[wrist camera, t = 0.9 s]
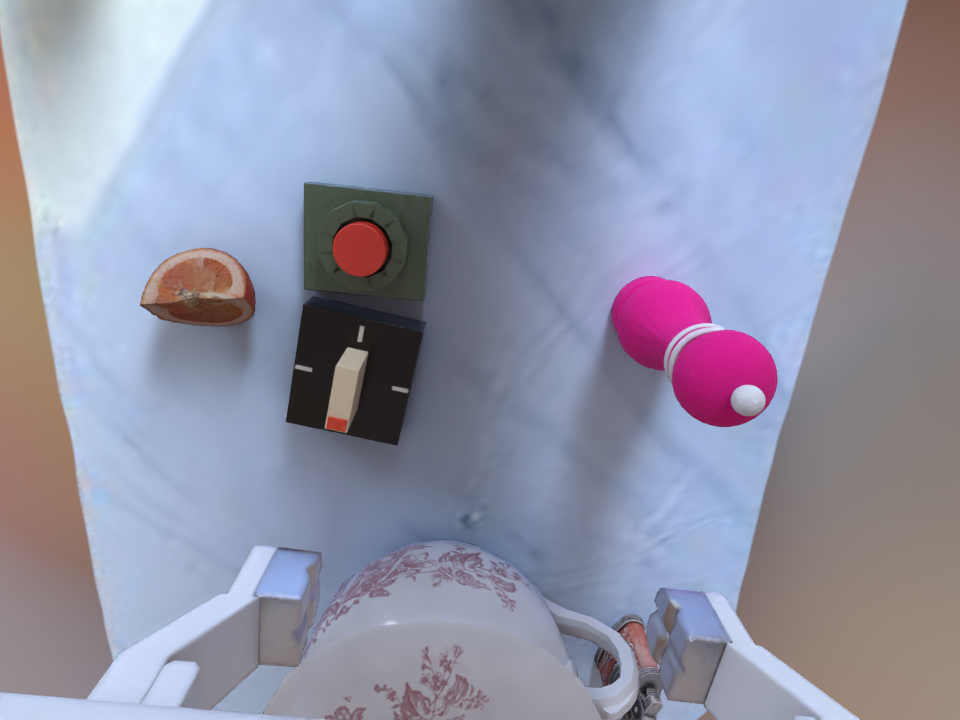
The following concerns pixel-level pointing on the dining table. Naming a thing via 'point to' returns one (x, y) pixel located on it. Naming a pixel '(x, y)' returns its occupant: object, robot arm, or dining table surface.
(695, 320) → the pepper mill
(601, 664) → the lighter
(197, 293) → the fruit slice
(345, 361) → the knob
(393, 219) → the button box
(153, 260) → the dining table surface
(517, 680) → the chamber pot
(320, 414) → the control panel
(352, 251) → the button
